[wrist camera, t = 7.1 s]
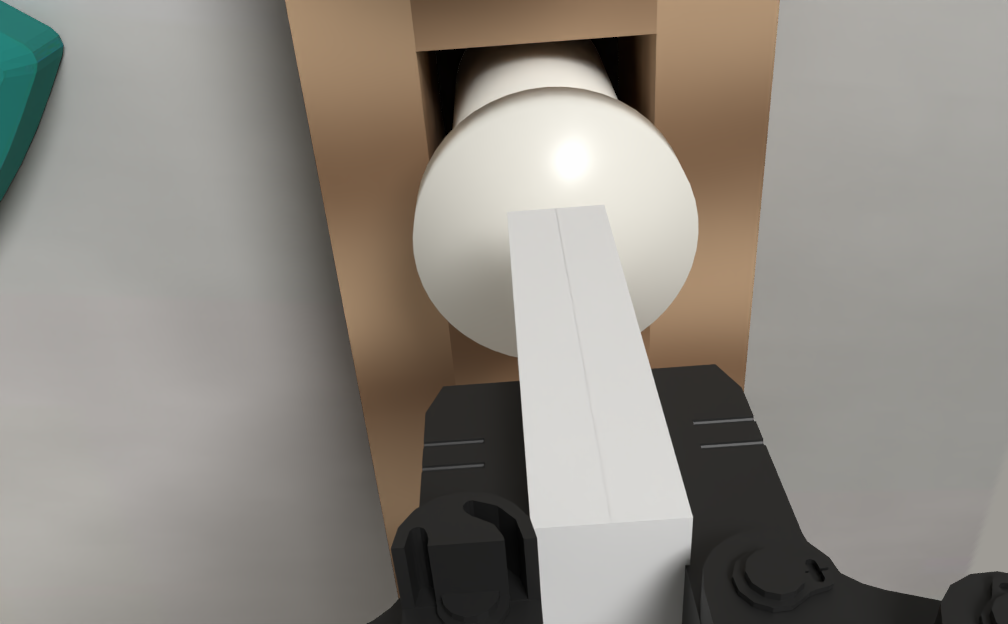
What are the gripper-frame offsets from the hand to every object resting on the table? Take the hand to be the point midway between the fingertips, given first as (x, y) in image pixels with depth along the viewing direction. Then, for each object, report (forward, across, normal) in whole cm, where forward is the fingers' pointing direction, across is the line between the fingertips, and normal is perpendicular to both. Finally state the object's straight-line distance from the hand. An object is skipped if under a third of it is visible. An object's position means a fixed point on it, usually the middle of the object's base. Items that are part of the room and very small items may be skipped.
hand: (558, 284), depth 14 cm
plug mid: (+11, 0, -1) cm, 11 cm away
